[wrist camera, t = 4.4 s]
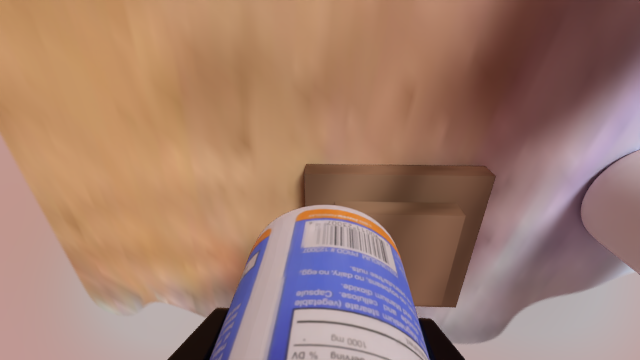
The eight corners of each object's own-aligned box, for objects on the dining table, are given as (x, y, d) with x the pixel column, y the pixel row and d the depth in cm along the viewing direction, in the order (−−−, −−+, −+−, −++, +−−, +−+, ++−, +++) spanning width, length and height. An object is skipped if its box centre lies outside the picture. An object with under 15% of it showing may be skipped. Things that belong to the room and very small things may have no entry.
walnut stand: (484, 166, 20) (508, 187, 17) (449, 292, 25) (462, 323, 23) (306, 164, 20) (302, 185, 17) (309, 289, 26) (307, 319, 23)
